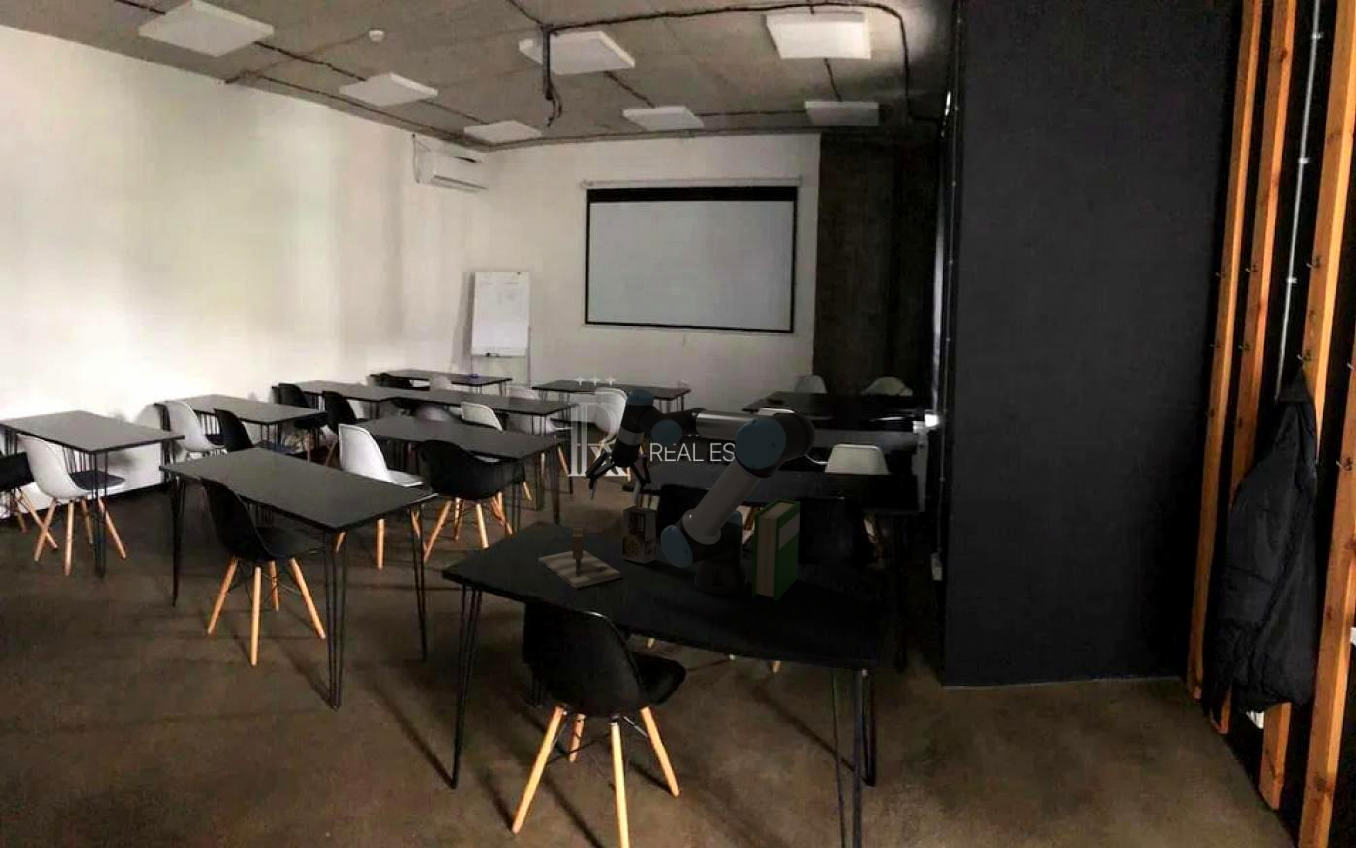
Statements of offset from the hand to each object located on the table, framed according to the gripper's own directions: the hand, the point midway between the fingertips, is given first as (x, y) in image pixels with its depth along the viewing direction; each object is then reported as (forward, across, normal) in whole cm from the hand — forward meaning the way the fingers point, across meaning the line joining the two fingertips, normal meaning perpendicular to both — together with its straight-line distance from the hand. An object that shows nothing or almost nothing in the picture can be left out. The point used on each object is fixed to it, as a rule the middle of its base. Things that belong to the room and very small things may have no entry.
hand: (612, 499), depth 233 cm
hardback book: (+4, -44, +33) cm, 55 cm away
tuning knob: (+19, +8, +9) cm, 23 cm away
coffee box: (+19, -12, +4) cm, 23 cm away
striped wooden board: (+22, +7, +8) cm, 24 cm away
